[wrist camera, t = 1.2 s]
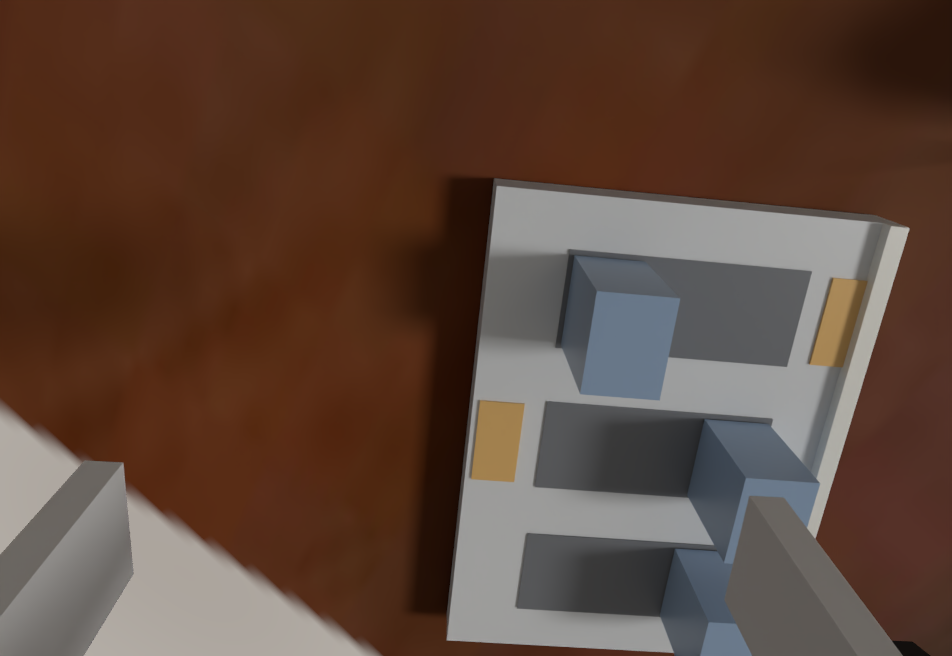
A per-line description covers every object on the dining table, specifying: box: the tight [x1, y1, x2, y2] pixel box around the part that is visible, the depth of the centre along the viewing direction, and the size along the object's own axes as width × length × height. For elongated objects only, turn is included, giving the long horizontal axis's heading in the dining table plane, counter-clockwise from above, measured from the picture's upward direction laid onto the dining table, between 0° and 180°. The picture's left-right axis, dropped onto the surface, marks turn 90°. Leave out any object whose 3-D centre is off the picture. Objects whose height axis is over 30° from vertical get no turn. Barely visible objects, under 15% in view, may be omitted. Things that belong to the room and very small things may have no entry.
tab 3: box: [687, 419, 820, 564], centre depth 32 cm, size 4×3×5 cm
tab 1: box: [561, 255, 680, 401], centre depth 29 cm, size 4×3×5 cm
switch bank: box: [447, 178, 910, 653], centre depth 35 cm, size 23×17×3 cm
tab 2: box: [660, 549, 752, 656], centre depth 34 cm, size 4×3×5 cm
